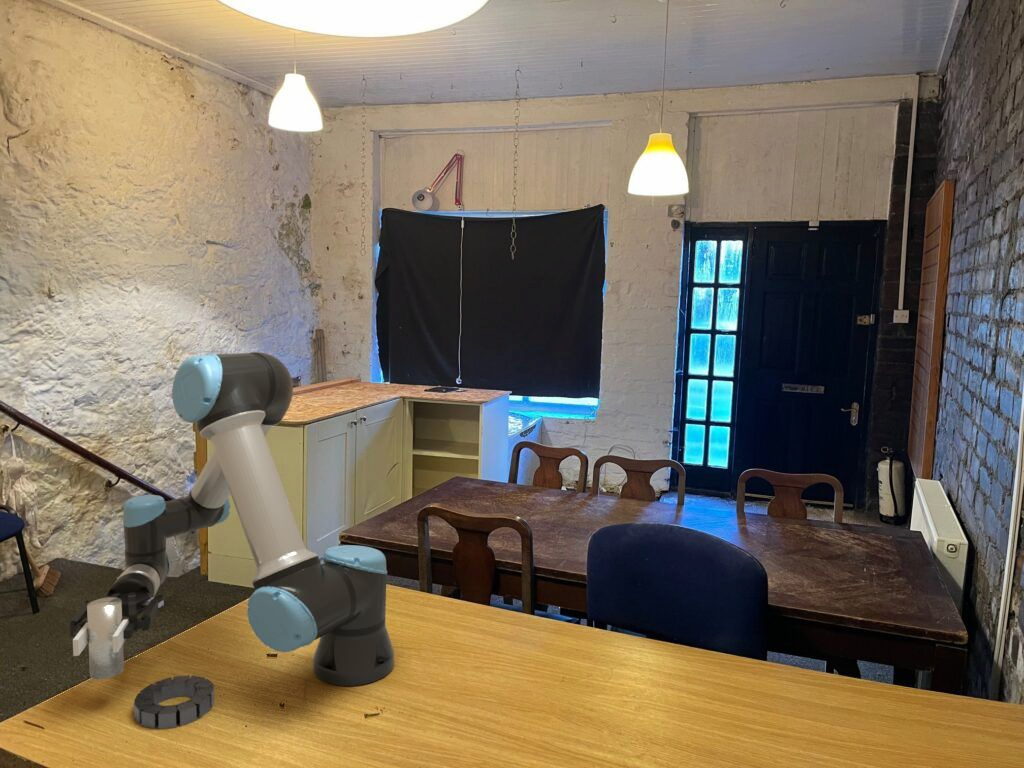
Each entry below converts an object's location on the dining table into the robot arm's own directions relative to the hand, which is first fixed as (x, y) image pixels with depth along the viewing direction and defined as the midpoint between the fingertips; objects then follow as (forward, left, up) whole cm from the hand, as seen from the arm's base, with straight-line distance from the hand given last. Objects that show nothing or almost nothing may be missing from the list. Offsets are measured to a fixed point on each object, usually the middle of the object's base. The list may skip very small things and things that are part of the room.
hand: (95, 645), depth 114 cm
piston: (0, -5, -7) cm, 9 cm away
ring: (-11, -2, -13) cm, 17 cm away
